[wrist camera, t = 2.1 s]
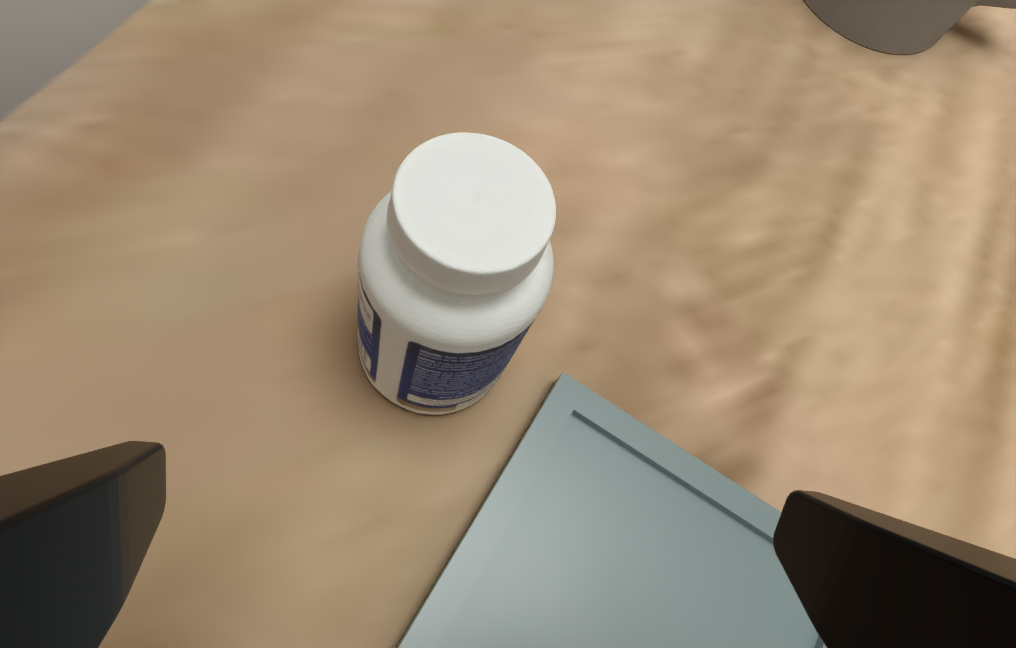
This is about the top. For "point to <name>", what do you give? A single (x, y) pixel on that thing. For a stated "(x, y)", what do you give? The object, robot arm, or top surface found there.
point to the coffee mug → (896, 21)
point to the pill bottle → (453, 271)
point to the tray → (611, 547)
